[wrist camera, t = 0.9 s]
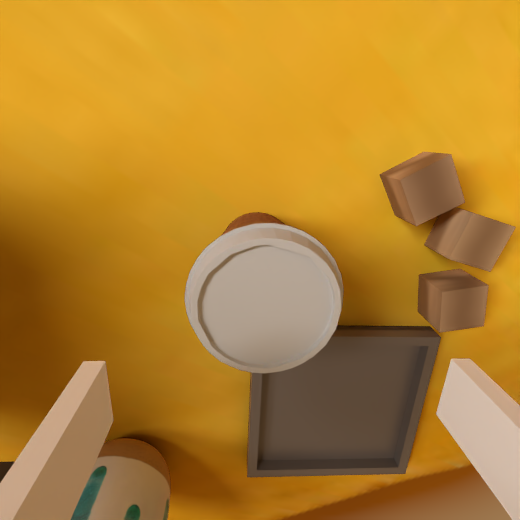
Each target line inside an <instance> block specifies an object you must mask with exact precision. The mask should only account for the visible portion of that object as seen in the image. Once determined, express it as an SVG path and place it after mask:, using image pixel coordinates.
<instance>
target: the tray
mask: <svg viewBox="0 0 520 520" xmlns="http://www.w3.org/2000/svg"><path fill="white" fill-rule="evenodd" d="M440 339H441V337H440V336H439V335H438V334H437V333H436V332H435V331H434V330H433V329H432V328H431V327H430V326H337V327H336V330H335V331H334V333H333V335H332V336H331V338H330V339H329V341H328V342H327V344H326V345H325V346H324V347H323V348H322V349H321V350H320V351H319V352H318V353H317V354H316V355H315V356H314V357H312V358H310V359H309V360H307V361H306V362H304V363H302V364H300V365H298V366H296V367H294V368H291V369H287V370H284V371H279V372H272V373H252V372H251V380H250V403H249V425H248V448H247V477H282V476H327V475H372V474H405V473H406V469H407V465H408V461H409V458H410V454H411V450H412V446H413V442H414V438H415V435H416V431H417V427H418V423H419V419H420V416H421V412H422V408H423V404H424V400H425V396H426V393H427V389H428V385H429V381H430V377H431V374H432V370H433V366H434V362H435V358H436V355H437V351H438V347H439V343H440Z"/></svg>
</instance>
